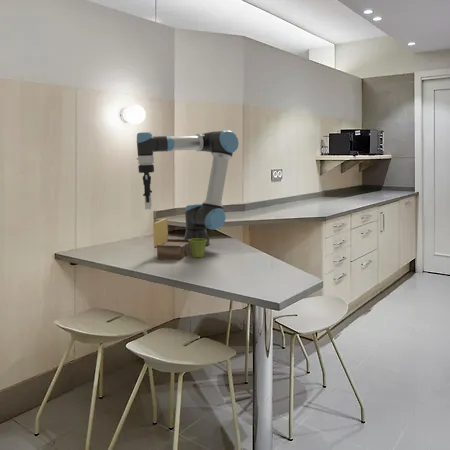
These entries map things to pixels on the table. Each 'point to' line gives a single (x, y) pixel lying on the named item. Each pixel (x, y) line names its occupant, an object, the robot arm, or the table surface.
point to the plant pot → (197, 247)
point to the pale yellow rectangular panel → (160, 232)
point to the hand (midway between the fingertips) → (148, 207)
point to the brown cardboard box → (174, 249)
